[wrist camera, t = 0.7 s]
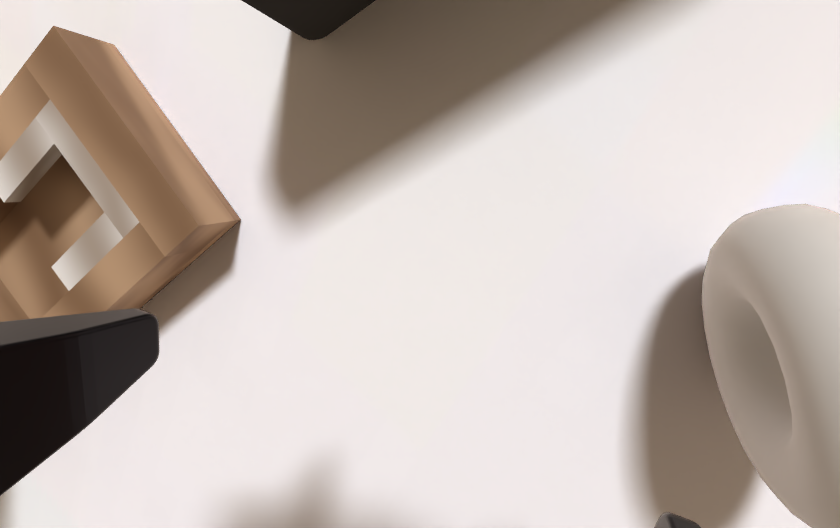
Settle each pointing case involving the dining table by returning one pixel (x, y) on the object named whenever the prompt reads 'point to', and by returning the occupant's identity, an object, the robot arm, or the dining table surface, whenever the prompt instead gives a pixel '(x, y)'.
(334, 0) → the nameplate
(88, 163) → the keyhole board
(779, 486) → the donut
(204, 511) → the dining table surface
